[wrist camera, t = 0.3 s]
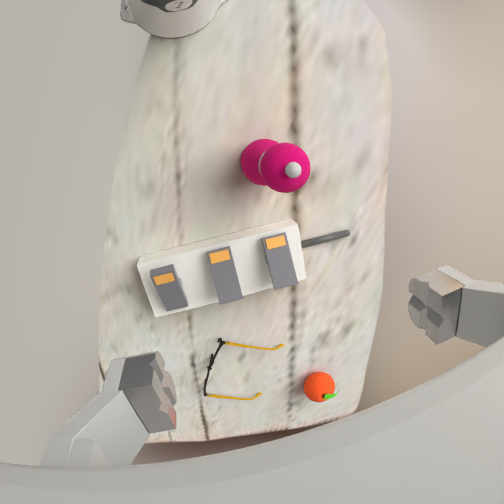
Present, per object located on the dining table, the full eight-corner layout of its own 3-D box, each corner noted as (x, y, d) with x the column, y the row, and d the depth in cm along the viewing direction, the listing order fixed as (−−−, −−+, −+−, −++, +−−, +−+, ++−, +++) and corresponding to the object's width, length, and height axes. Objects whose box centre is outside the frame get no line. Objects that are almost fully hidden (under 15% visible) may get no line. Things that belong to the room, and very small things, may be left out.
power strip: (140, 256, 54) (135, 267, 49) (345, 205, 58) (358, 211, 53) (157, 307, 58) (155, 321, 53) (350, 256, 61) (362, 266, 56)
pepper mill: (247, 188, 54) (277, 214, 35) (230, 149, 51) (251, 152, 32) (286, 172, 54) (335, 188, 35) (270, 132, 51) (313, 128, 33)
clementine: (336, 365, 70) (348, 384, 63) (327, 388, 72) (337, 407, 65) (304, 365, 68) (315, 386, 61) (296, 388, 70) (305, 409, 63)
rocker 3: (261, 238, 52) (262, 237, 51) (283, 232, 53) (285, 231, 51) (273, 288, 52) (275, 289, 51) (296, 282, 53) (298, 283, 51)
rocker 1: (149, 269, 48) (149, 276, 47) (173, 263, 48) (173, 270, 47) (166, 305, 53) (166, 312, 52) (187, 300, 54) (188, 307, 52)
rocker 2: (206, 252, 52) (205, 252, 50) (229, 246, 52) (229, 245, 50) (219, 303, 52) (219, 304, 50) (242, 297, 52) (243, 298, 50)
